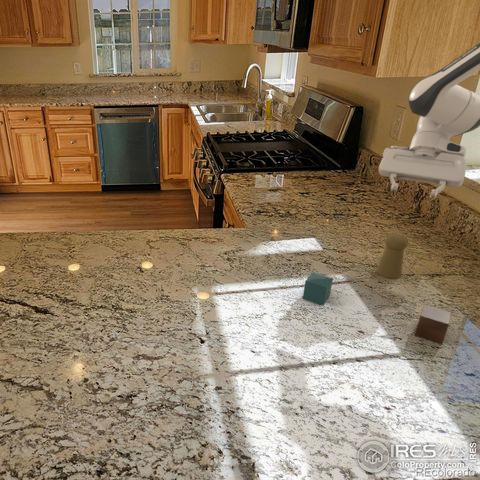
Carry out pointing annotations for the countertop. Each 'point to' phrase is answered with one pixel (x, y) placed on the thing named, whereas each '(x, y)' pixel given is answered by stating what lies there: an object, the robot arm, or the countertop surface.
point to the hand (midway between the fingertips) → (412, 193)
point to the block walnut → (433, 324)
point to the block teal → (317, 288)
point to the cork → (392, 256)
